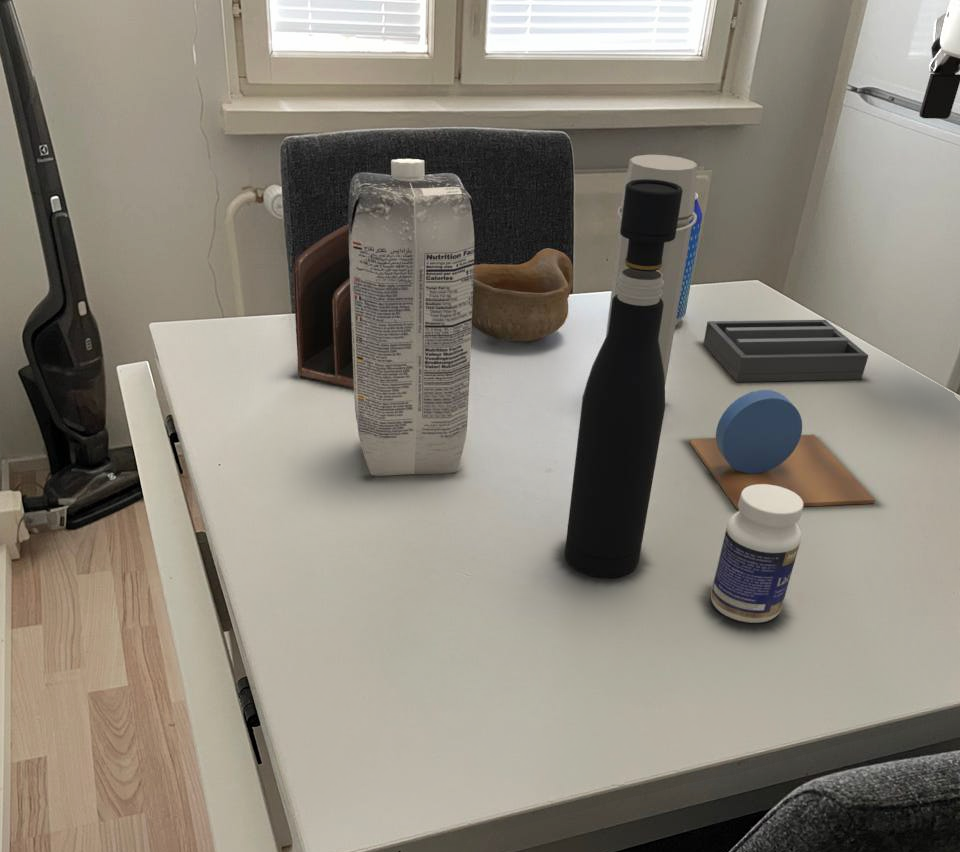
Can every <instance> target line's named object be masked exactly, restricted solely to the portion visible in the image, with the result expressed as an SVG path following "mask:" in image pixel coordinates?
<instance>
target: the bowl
mask: <svg viewBox="0 0 960 852" xmlns="http://www.w3.org/2000/svg"><path fill="white" fill-rule="evenodd" d="M573 281H574V267H573V264H572V261H571V259H570V258H569V256H567V254H565V253H564V252H562V251H559V250H557V249H554V248H549V247H548V248H543V249H542V250H540V251H538V252H537V253H536V254H535V255H534V256H533V257H532V258H531V259H530V260H529V261H526V262H523V263H520V264H501V263H499V264H497V263H496V264H495V263H494V264H493V263H490V264H489V263H480V264H474V275H473V302H472V327H473V328H474V329H476V330H477V331H479V332H480V333H482V334H484V335H486V336H488V337H490V338H492V339H496V340H499V341H506V342H517V343H519V342H520V343H525V342H530V341H531V342H532V341H536V340H540V339H543V338H546V337H548V336H550V335H552V334H554V333H556V332H557V331H558V330H559V329H560V328H561V327H563V326H564V324H565V323H566V320H567V318H568V315H569V297H570V295H571V292H572V287H573Z"/></svg>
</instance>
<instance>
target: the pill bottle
mask: <svg viewBox="0 0 960 852" xmlns="http://www.w3.org/2000/svg"><path fill="white" fill-rule="evenodd" d="M803 509H804V506H803V501H802V499H801V498H800V497H799V496H798V495H797V494H796V493H794V492H792V491H790V490H788V489H786V488H783V487H779V486H775V485H768V484H758V485H751V486H748V487H746V488H745V489H744V490H743V491H742V493H741V496H740V499H739V503H738V509H737V510H738V511H737V512H735V513H734V514H733V515H732V516H731V517H730V518H729V519H728V521H727V523H726V527H725V532H724V537H723V539H722V545H721V549H720V554H719V558H718V561H717V566H716V570H715V574H714V579H713V583H712V586H711V591H710V599H711V603H712V605H713V606H714V608H715V609H716V610H718V611H719V613H721V614H722V615H724V616H726V617H727V618H730V619H733V620H735V621H738V622H743V623H749V624H750V623H751V624H759V623H765V622H768V621H771V620H773V619H774V618H776V617H777V616H778V615H779V614H780V612H781V610H782V607H783V604H784V601H785V596H786V595H787V594H786V593H787V591H788V587H789V583H790V580H791V576H792V572H793V569H794V565H795V563H796V559H797V556H798V552H799V549H800V545H801V541H802V532H801V529H800V527H799V525H798V524H797V523H799V521H800V520H801V517H802V514H803V511H804V510H803Z"/></svg>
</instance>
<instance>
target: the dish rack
mask: <svg viewBox="0 0 960 852" xmlns="http://www.w3.org/2000/svg"><path fill="white" fill-rule="evenodd" d="M703 346H704V347H705V348H706V349H707V350H708V352H709V353H710V354H711V355H712V356H713V357H714V358H715V360H717V361H718V363H719V364H720V365H721V366H722V367H723V368H724V370H725V371H726V372H727V373H728V374H729V375H730V376H731V377H732V378H733V380H734V381H735V382H736V383H750V382H751V383H754V382H759V383H760V382H790V381H791V382H794V381H795V382H797V381H798V382H801V381H835V380H836V381H839V380H840V381H842V380H844V381H845V380H862V379H863V376H864V373H865V369H866V366H867V362H868V359H869V354H868V353H866V352H865V351H863V350H862V348H860V347H859V346H858V345H856V343H854V342H853V341H852V340H851V339H849V338H848V337H847V336H846V335H844V334H843V333H842V332H841V331H840V330H839V329H838V328H836V327H835V326H834V325H832V324H831V323H830V322H829V321H828V320H827V319H784V320H783V319H782V320H781V319H780V320H779V319H778V320H777V319H775V320H773V319H772V320H771V319H770V320H708V321H707V323H706V327H705V333H704V339H703Z"/></svg>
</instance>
